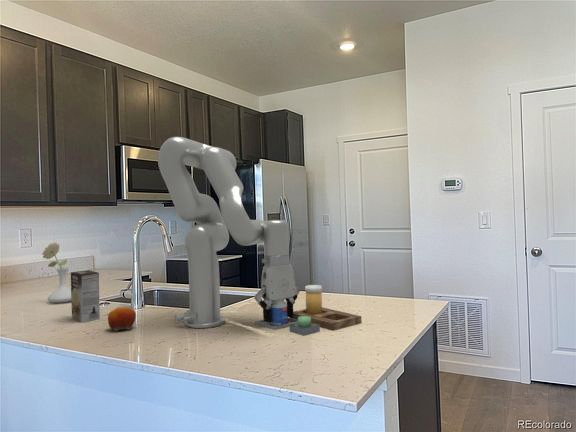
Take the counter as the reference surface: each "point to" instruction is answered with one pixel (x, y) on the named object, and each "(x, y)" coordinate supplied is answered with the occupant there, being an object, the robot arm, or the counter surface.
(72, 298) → the coffee box
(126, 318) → the fruit
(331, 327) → the wooden bottle holder
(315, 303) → the seated bottle
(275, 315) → the pill bottle
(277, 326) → the gray square frame
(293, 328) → the button housing
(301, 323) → the button
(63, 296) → the flower in vase
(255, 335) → the counter surface
